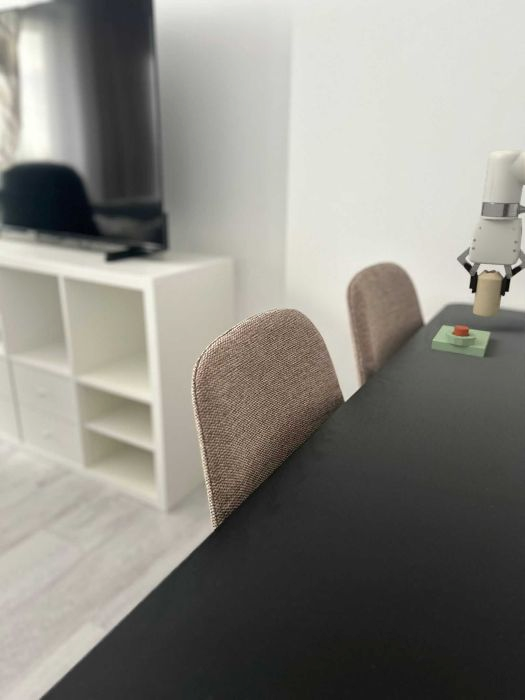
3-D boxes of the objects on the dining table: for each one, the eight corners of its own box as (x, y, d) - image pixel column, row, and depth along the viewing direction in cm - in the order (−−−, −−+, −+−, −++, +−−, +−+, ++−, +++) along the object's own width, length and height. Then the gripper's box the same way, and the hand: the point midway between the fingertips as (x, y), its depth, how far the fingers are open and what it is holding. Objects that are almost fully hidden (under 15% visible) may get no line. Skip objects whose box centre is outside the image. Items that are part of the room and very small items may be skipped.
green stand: (489, 340, 112) (491, 324, 111) (483, 358, 101) (485, 341, 99) (441, 333, 116) (443, 318, 115) (430, 350, 105) (432, 333, 104)
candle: (468, 313, 118) (474, 270, 115) (478, 309, 122) (484, 267, 118) (492, 318, 114) (498, 273, 111) (502, 313, 118) (508, 270, 115)
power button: (468, 335, 105) (470, 326, 104) (467, 338, 102) (468, 330, 102) (454, 332, 106) (455, 324, 105) (452, 336, 103) (453, 328, 103)
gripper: (544, 211, 110) (530, 294, 116) (460, 209, 118) (451, 287, 123) (544, 213, 104) (529, 301, 110) (455, 211, 111) (446, 293, 117)
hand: (488, 292), depth 116 cm, fingers closed on candle, 5 cm apart
